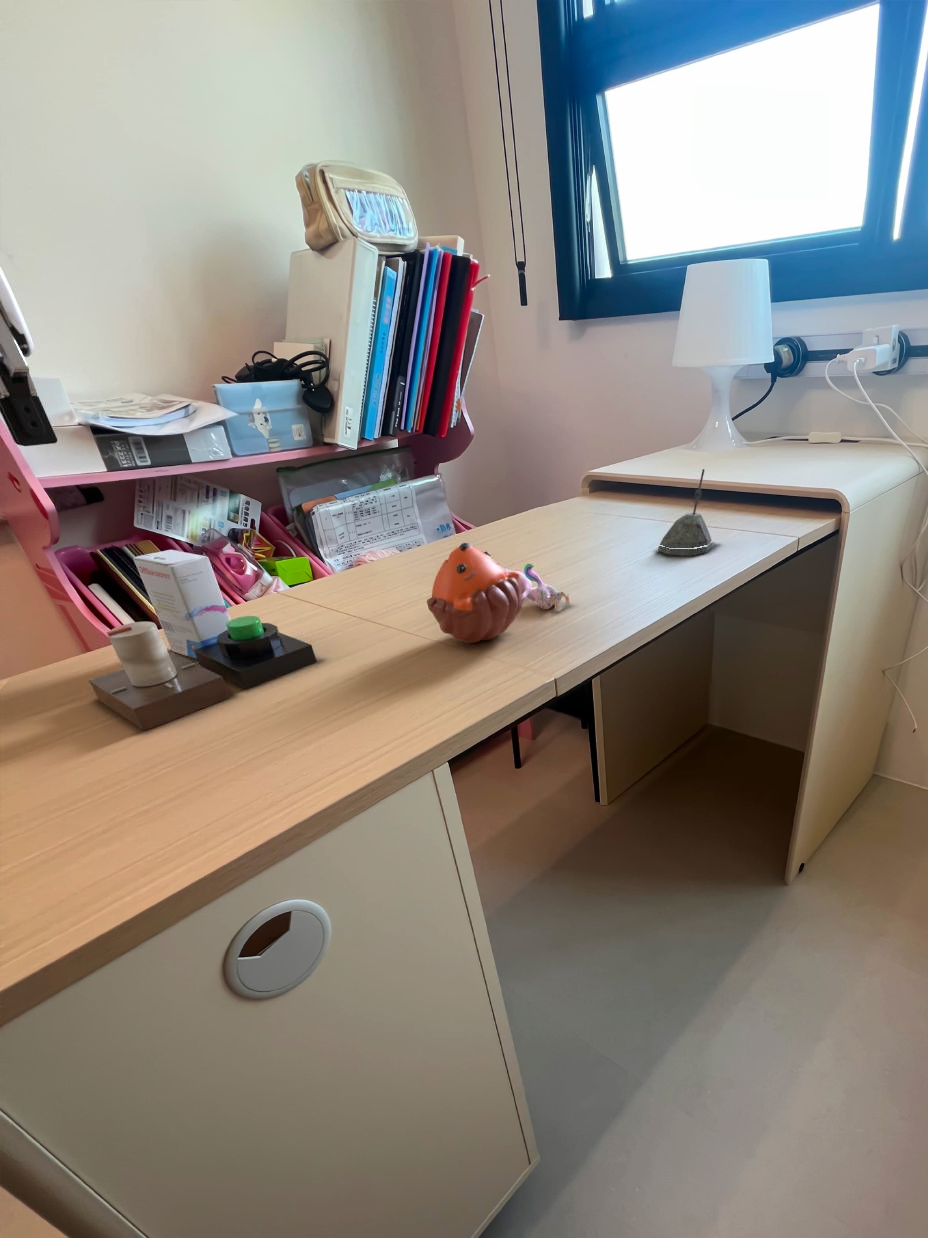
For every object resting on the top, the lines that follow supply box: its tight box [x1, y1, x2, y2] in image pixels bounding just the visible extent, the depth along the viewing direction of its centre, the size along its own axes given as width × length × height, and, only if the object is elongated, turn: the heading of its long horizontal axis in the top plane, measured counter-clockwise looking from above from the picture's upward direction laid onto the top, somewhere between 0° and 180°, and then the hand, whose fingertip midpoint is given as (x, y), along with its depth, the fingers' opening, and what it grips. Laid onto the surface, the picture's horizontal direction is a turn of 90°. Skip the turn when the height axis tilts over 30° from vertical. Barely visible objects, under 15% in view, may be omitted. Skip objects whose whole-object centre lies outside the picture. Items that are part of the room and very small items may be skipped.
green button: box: [226, 615, 264, 640], centre depth 76 cm, size 4×4×2 cm
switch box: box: [194, 622, 317, 690], centre depth 77 cm, size 11×9×4 cm
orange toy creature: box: [426, 542, 523, 644], centre depth 79 cm, size 12×10×11 cm
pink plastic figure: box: [502, 563, 571, 613], centre depth 92 cm, size 6×6×15 cm
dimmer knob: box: [106, 621, 177, 687], centre depth 68 cm, size 4×4×6 cm
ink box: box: [133, 549, 232, 660], centre depth 79 cm, size 9×5×12 cm, turn 58°
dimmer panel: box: [88, 652, 231, 731], centre depth 71 cm, size 12×9×3 cm
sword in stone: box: [657, 468, 717, 557], centre depth 109 cm, size 10×8×12 cm
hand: (37, 443), depth 64 cm, fingers closed
